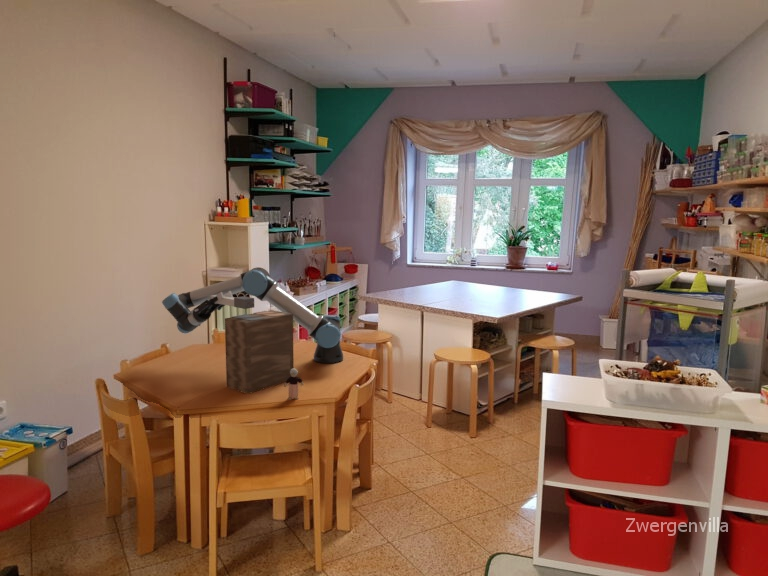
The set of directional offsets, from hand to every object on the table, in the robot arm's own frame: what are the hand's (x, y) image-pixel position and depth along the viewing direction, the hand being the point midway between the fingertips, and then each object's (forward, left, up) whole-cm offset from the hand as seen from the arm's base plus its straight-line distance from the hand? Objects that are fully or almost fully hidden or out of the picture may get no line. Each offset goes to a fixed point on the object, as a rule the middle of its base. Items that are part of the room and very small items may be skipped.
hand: (226, 294), depth 244 cm
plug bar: (-2, +2, -4) cm, 5 cm away
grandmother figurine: (-29, +28, -39) cm, 56 cm away
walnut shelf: (-14, +6, -39) cm, 42 cm away
